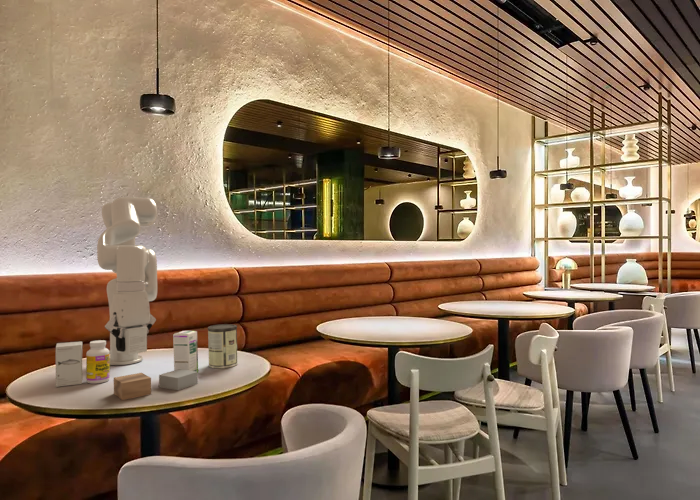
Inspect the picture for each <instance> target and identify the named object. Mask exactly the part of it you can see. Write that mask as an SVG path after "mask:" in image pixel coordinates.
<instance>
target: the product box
mask: <svg viewBox="0 0 700 500" xmlns="http://www.w3.org/2000/svg"><path fill="white" fill-rule="evenodd" d="M124 331H125V332H124V335H123V337H124V338H125V351H123V352H121V351H117V353H122V354H126V355H131V354H136V353H138V354H140V353H146V352H147V351H148V346H147V345H148V333H147V327H143V326H133V327H126V329H125V330H124Z"/></svg>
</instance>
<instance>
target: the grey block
mask: <svg viewBox="0 0 700 500" xmlns="http://www.w3.org/2000/svg"><path fill="white" fill-rule="evenodd" d="M198 374H199V371H198V372H196V371H189V370H183V369H178V370H174V369H173V370H171V371H167V372H164V373H161V374H159V375H158V387H159V388H163V389H168V390H174V391H180V390H183V389H186V388H189V387H192V386H195V385H197V384H198V383H199V381H198V380H199V379H198V376H199V375H198Z"/></svg>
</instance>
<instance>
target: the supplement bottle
mask: <svg viewBox="0 0 700 500" xmlns="http://www.w3.org/2000/svg"><path fill="white" fill-rule="evenodd" d="M106 345H107V340H104V339H103V340H101V339H98V340H91V341H90V342H89V347H90V349H89V350H87V351H86V359H85V360H86V365H85V367H86V371H85V372H86V382H87V383H88V384H102V383H103V384H104V383H106V382H108V381H109V380H110V377H111V376H110V374H111V373H110V367H111V365H110V363H109V361H110V360H109V358H110V354H109V351H110V349H109V348H107V347H106Z"/></svg>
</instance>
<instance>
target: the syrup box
mask: <svg viewBox="0 0 700 500" xmlns="http://www.w3.org/2000/svg"><path fill="white" fill-rule="evenodd" d="M172 336H173V337H172V338H173V340H172V341H173V371H174V370H178V369H183V370H189V371H196V372H198V373H199V356H198V355H199V354H198V353H199V352H198V351H199V350H198V348H199V347H198V331H197V330H182V331H179V332H175V333H174V334H173V335H172Z"/></svg>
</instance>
